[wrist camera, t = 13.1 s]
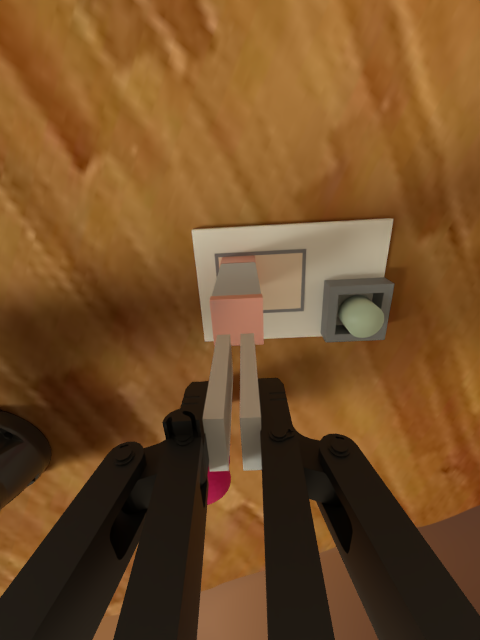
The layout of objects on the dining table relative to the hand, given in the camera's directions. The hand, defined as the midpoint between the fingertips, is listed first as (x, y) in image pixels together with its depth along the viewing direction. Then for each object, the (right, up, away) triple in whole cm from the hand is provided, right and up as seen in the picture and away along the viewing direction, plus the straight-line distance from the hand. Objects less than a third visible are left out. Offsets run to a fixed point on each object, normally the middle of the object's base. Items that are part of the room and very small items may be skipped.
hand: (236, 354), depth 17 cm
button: (+14, +3, +17) cm, 22 cm away
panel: (+6, +6, +18) cm, 20 cm away
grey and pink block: (0, +8, +17) cm, 18 cm away
